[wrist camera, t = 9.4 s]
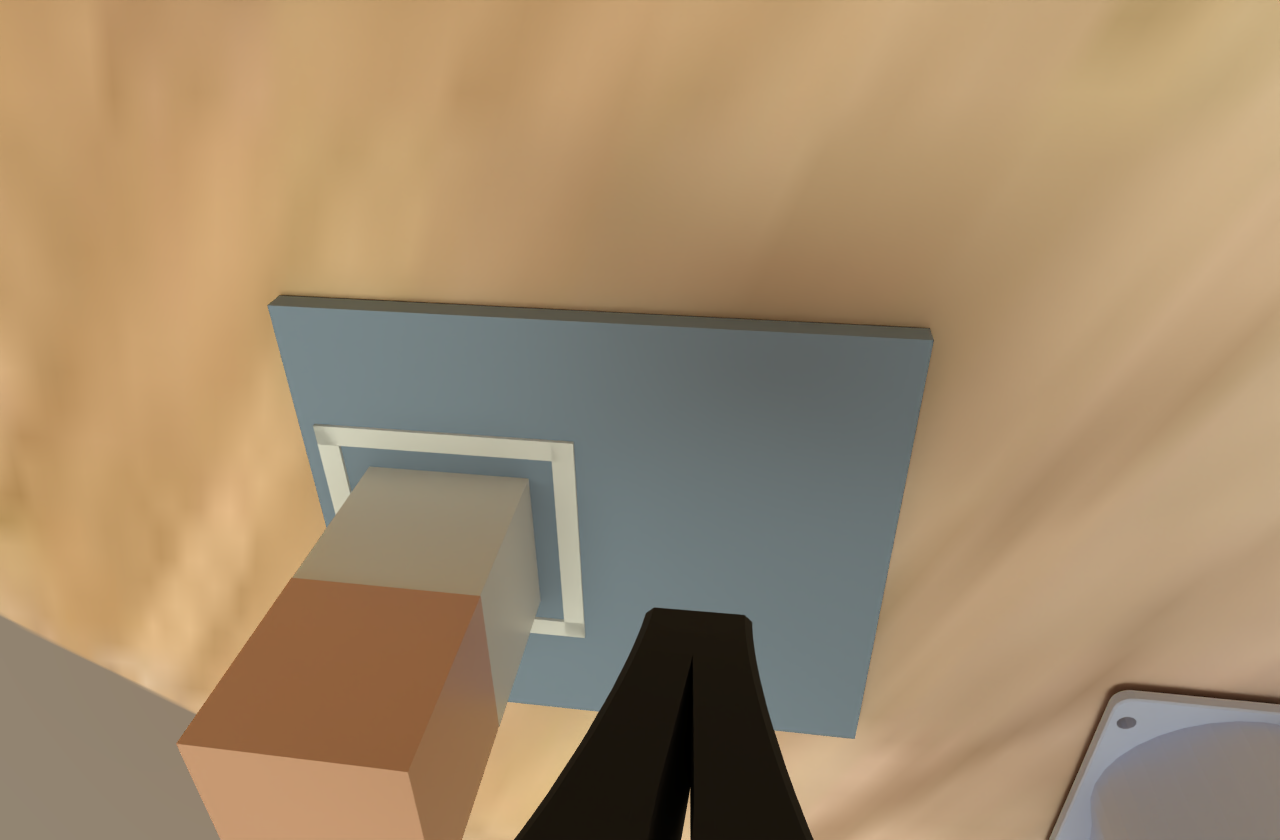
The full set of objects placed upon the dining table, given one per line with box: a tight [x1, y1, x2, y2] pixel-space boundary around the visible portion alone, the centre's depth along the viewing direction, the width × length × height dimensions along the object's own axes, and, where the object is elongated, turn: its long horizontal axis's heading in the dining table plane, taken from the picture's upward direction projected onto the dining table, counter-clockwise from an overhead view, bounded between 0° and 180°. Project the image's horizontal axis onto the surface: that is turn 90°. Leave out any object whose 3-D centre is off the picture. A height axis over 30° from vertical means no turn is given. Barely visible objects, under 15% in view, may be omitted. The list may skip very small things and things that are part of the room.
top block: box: [177, 578, 499, 840], centre depth 19 cm, size 4×4×4 cm
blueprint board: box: [268, 295, 934, 739], centre depth 24 cm, size 14×16×1 cm
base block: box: [292, 467, 541, 726], centre depth 22 cm, size 4×4×4 cm
